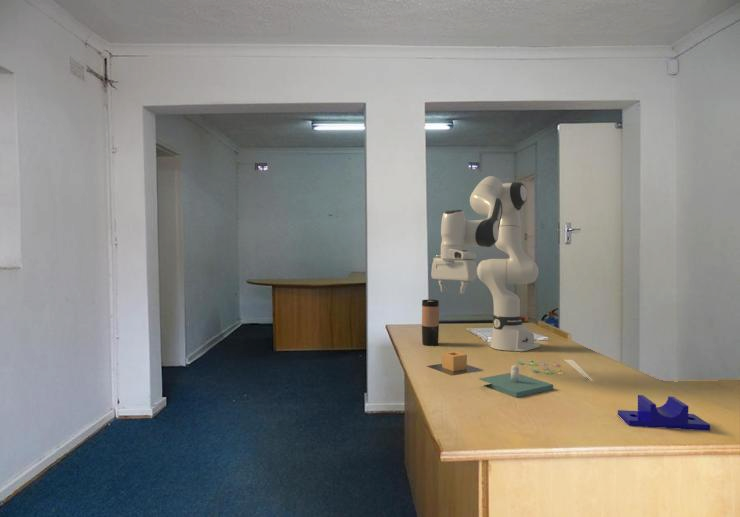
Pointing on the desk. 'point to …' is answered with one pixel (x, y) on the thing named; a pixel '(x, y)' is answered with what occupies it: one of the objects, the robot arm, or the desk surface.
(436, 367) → the stand
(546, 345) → the desk surface
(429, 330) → the travel mug
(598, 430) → the desk surface
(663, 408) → the mounting bracket
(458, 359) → the collar
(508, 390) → the hub plate
